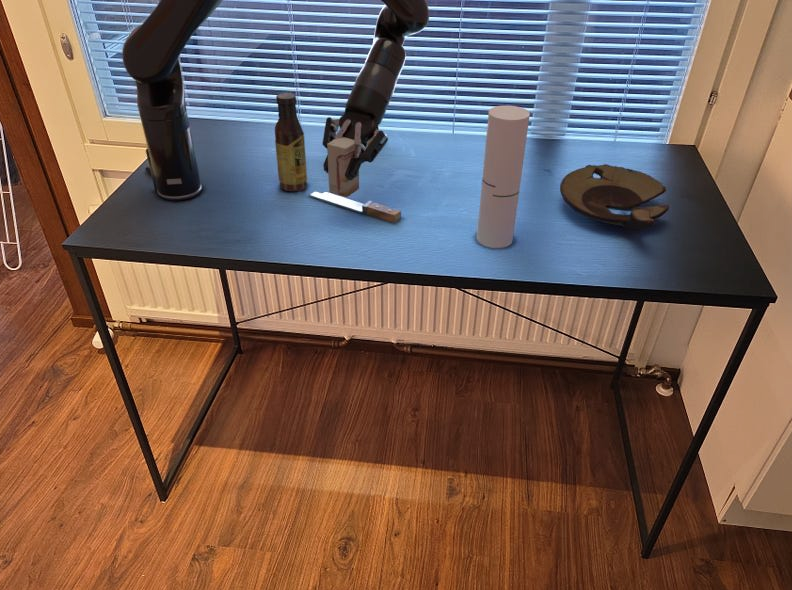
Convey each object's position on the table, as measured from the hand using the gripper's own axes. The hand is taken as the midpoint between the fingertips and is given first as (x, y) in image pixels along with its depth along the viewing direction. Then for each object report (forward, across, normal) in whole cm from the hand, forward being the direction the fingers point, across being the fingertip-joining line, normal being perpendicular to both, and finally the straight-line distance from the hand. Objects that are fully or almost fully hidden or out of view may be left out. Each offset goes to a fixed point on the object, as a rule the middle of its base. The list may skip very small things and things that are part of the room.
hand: (337, 174), depth 129 cm
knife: (+2, -2, +13) cm, 13 cm away
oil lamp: (-16, +45, +32) cm, 58 cm away
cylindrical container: (-1, +29, +16) cm, 33 cm away
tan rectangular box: (+2, 0, +4) cm, 5 cm away
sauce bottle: (+2, -19, +14) cm, 23 cm away
